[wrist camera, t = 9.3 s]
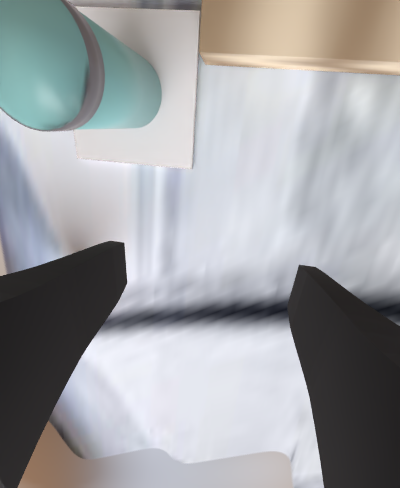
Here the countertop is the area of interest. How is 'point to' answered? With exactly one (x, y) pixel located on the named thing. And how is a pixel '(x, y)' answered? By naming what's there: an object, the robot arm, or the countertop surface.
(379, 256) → the countertop surface
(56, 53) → the plug
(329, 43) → the tan board with hole
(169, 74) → the mat
